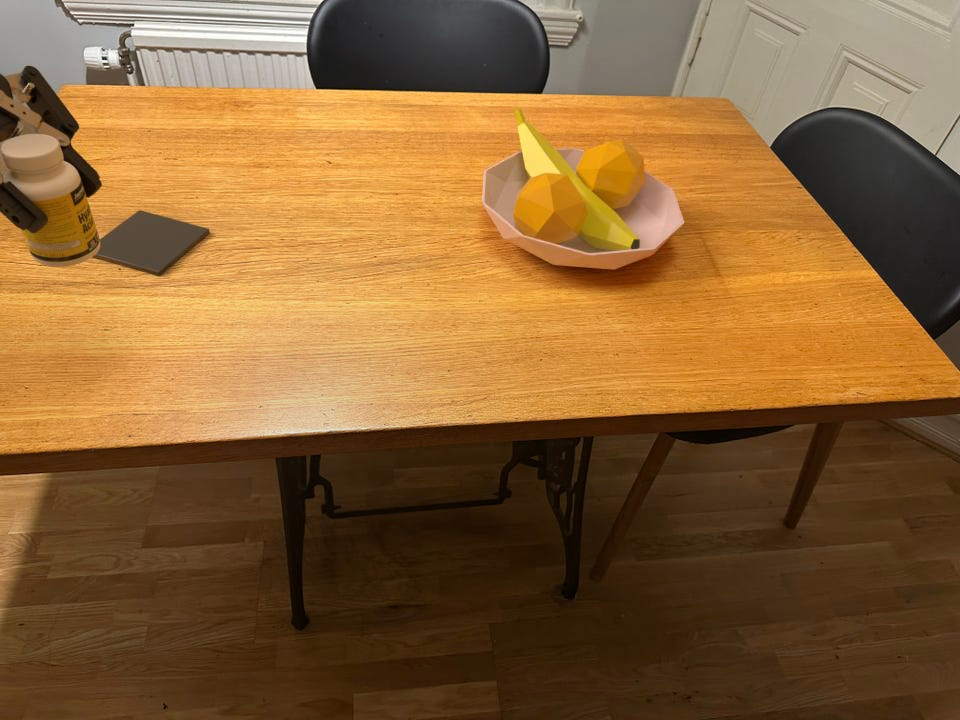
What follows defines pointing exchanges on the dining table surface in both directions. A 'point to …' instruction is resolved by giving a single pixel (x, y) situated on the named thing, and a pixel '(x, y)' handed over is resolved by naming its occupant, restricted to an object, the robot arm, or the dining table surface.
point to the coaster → (149, 242)
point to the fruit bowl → (579, 202)
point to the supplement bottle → (52, 200)
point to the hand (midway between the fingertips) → (69, 207)
